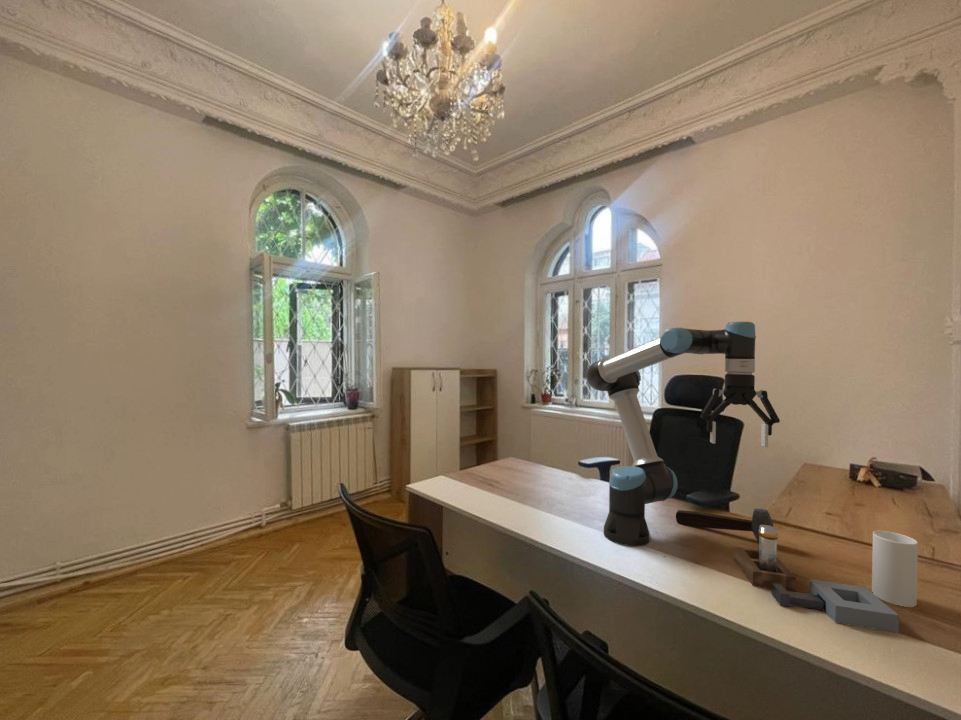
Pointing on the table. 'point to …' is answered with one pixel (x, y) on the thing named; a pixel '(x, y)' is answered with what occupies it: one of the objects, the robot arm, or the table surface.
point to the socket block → (855, 606)
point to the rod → (768, 548)
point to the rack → (759, 578)
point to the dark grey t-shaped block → (797, 598)
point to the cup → (895, 568)
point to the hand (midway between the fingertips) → (738, 444)
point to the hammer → (725, 521)
